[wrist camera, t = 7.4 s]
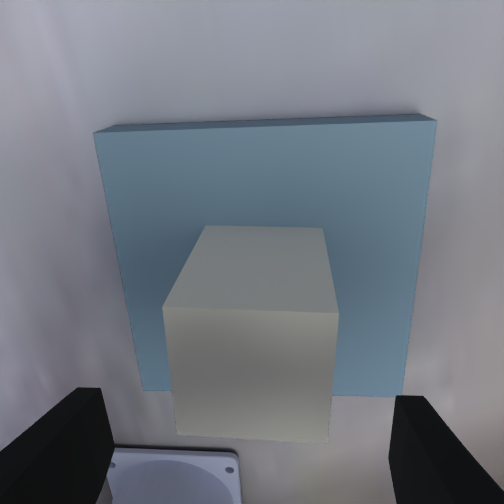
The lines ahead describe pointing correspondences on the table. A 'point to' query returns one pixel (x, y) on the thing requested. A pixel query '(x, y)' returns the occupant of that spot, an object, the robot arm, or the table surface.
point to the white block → (253, 335)
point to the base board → (277, 220)
